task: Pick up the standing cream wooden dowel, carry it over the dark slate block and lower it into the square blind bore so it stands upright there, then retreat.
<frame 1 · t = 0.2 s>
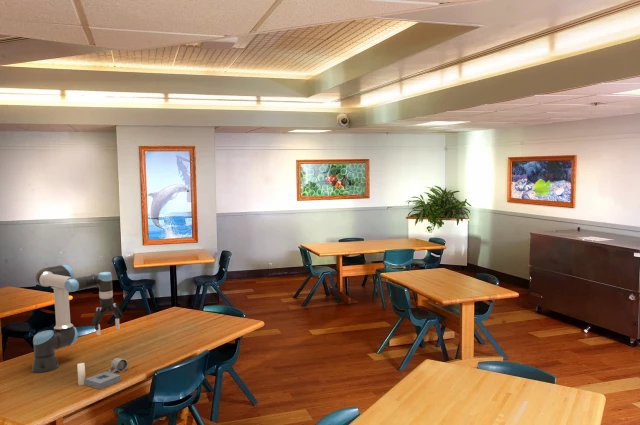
hand: (108, 331, 320), 27 cm above the table, fingers open, 13 cm apart
dowel pin: (82, 383, 310), on the table
ceramic mug: (117, 371, 330), on the table
bore block: (103, 382, 311), on the table
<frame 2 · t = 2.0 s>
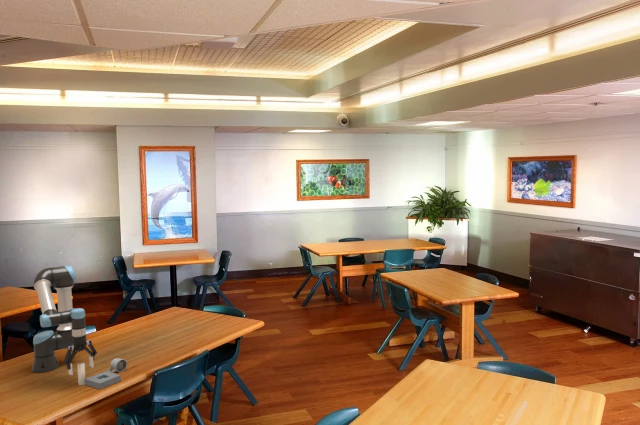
hand: (81, 370, 309), 8 cm above the table, fingers open, 13 cm apart
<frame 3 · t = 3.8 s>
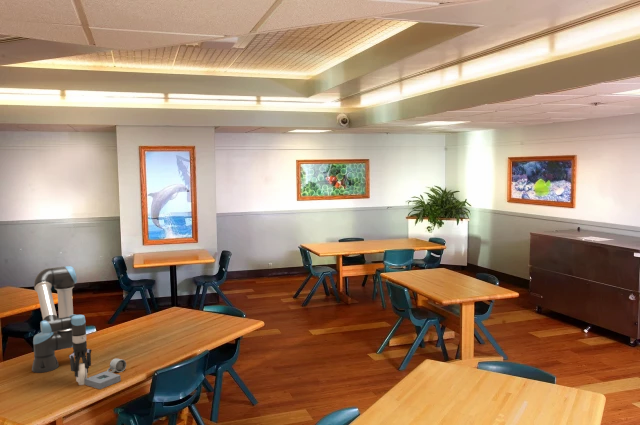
hand: (81, 380, 310), 2 cm above the table, fingers closed on dowel pin, 4 cm apart
dowel pin: (82, 383, 310), on the table, touching gripper
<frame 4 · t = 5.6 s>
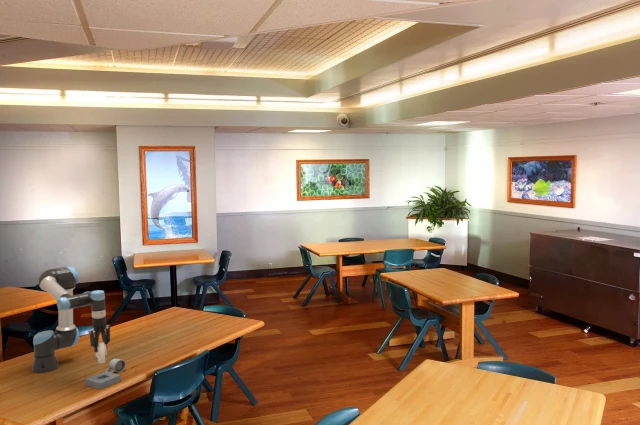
hand: (101, 355, 309), 16 cm above the table, fingers closed on dowel pin, 4 cm apart
dowel pin: (101, 362, 310), point 13 cm above the table, touching gripper
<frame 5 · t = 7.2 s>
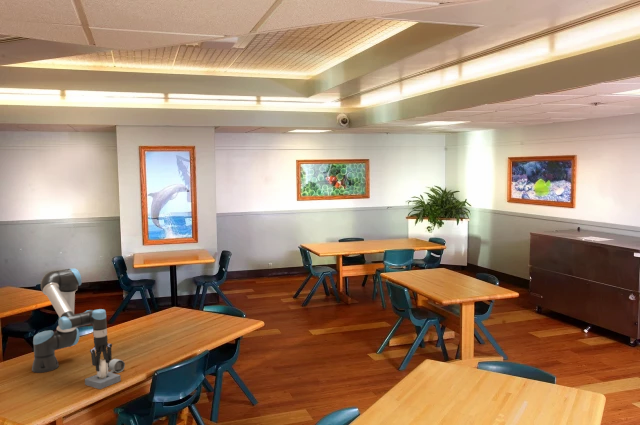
hand: (102, 374, 310), 5 cm above the table, fingers closed on dowel pin, 4 cm apart
dowel pin: (103, 380, 311), point 2 cm above the table, touching bore block, gripper
when the fingers open (5 cm above the table, at t = 7.6 s): dowel pin stays where it is, resting on bore block.
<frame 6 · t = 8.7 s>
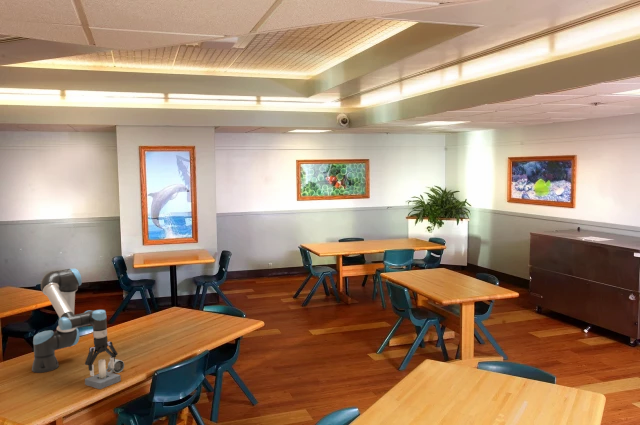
hand: (102, 371, 310), 7 cm above the table, fingers open, 13 cm apart
dowel pin: (102, 380, 311), point 2 cm above the table, touching bore block
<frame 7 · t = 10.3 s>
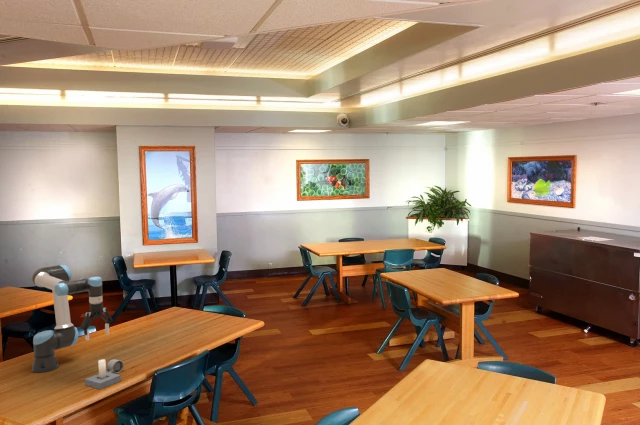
hand: (97, 336, 319), 25 cm above the table, fingers open, 13 cm apart
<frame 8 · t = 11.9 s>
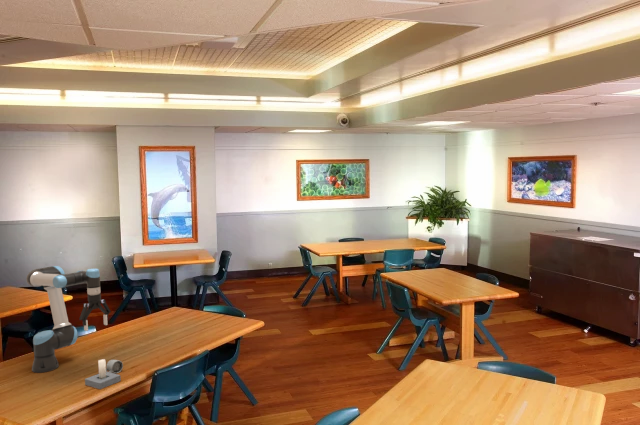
hand: (96, 327, 325), 29 cm above the table, fingers open, 13 cm apart
at the end: dowel pin 0.0 cm off-centre on the bore block, point 1.6 cm above the bore block's base; dowel pin tilted 0°; the gripper is holding nothing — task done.
